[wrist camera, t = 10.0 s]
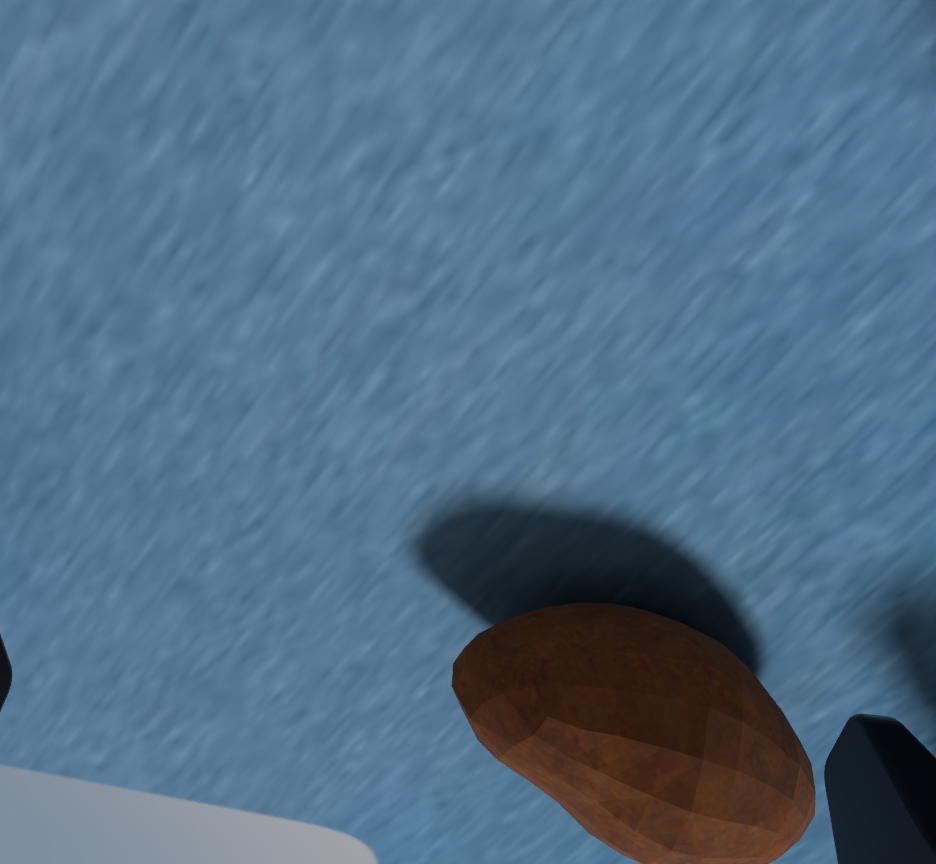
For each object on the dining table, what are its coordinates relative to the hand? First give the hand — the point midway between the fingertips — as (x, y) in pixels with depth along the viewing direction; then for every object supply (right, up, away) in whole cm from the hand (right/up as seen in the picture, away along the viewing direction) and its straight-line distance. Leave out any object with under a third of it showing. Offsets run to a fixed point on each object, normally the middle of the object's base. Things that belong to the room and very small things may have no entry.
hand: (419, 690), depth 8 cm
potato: (+6, -4, +17) cm, 18 cm away
